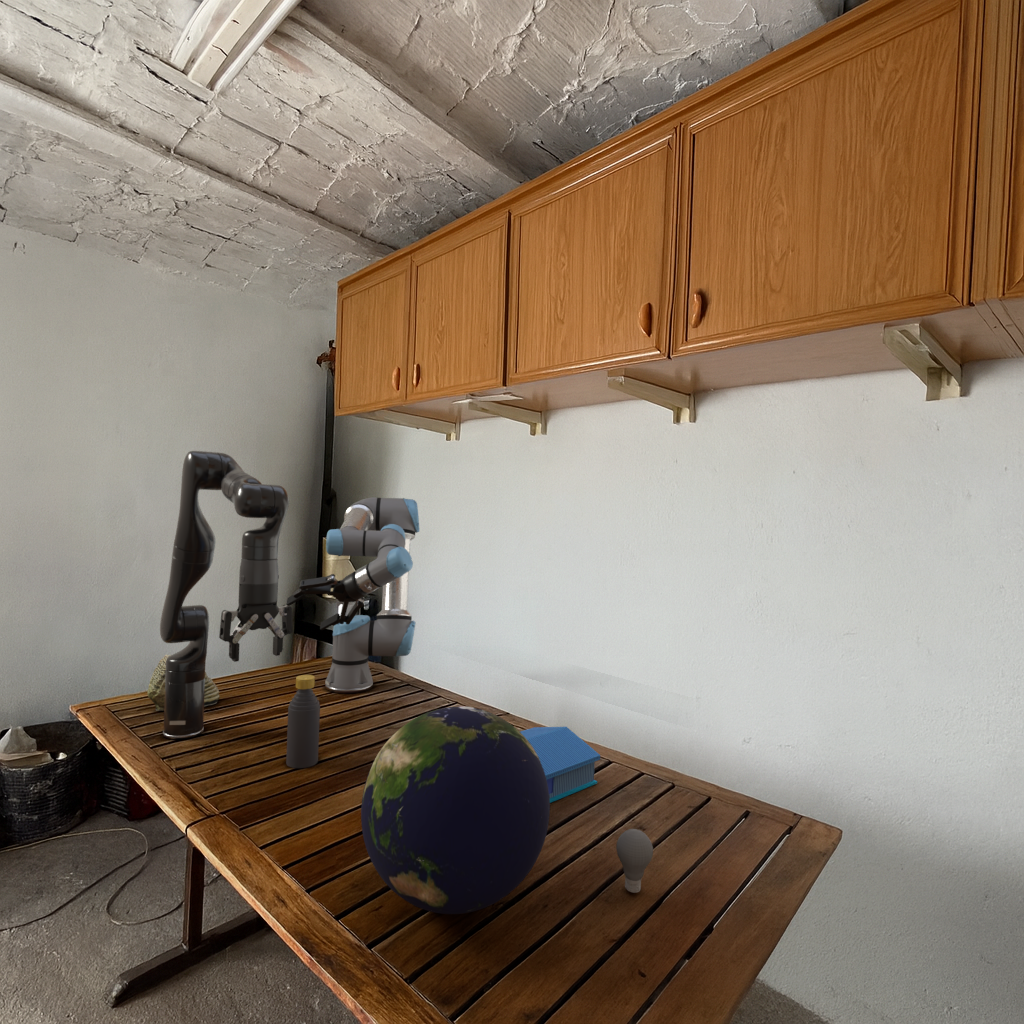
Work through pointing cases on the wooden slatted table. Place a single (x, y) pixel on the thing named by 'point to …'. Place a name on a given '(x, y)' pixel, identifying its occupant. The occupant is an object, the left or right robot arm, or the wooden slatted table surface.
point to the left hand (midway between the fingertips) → (256, 657)
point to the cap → (305, 682)
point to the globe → (455, 810)
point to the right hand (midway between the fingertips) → (304, 614)
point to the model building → (563, 759)
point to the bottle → (303, 730)
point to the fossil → (158, 687)
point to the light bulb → (634, 857)
